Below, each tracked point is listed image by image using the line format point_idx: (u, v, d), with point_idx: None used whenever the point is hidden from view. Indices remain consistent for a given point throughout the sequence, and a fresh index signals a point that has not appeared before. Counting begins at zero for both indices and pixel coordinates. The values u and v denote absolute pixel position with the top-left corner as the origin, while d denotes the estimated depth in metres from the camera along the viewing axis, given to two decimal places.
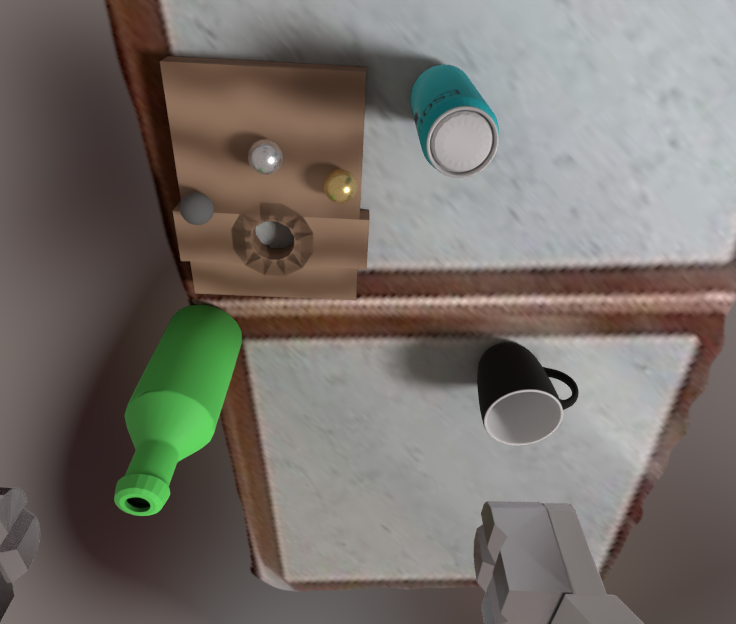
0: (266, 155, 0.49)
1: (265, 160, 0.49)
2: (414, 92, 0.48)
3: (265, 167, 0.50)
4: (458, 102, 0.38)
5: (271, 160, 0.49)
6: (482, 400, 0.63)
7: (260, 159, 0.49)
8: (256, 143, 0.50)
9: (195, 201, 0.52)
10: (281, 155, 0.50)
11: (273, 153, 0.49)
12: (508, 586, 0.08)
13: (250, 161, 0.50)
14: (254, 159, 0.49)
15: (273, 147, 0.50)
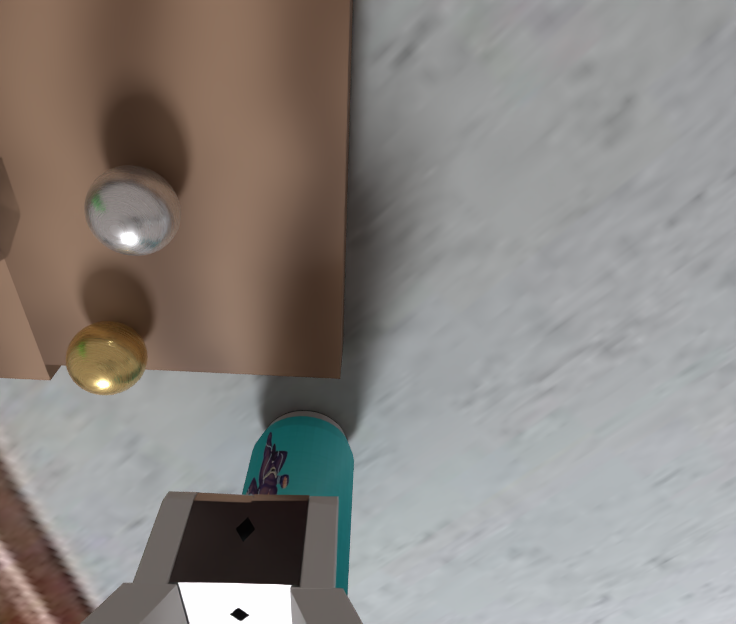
0: (140, 238, 0.19)
1: (125, 237, 0.19)
2: (314, 459, 0.28)
3: (106, 234, 0.19)
4: None
5: (129, 248, 0.19)
6: None
7: (125, 225, 0.18)
8: (165, 200, 0.19)
9: None
10: None
11: (149, 248, 0.19)
12: (235, 579, 0.08)
13: (112, 189, 0.18)
14: (121, 207, 0.18)
15: (164, 242, 0.20)
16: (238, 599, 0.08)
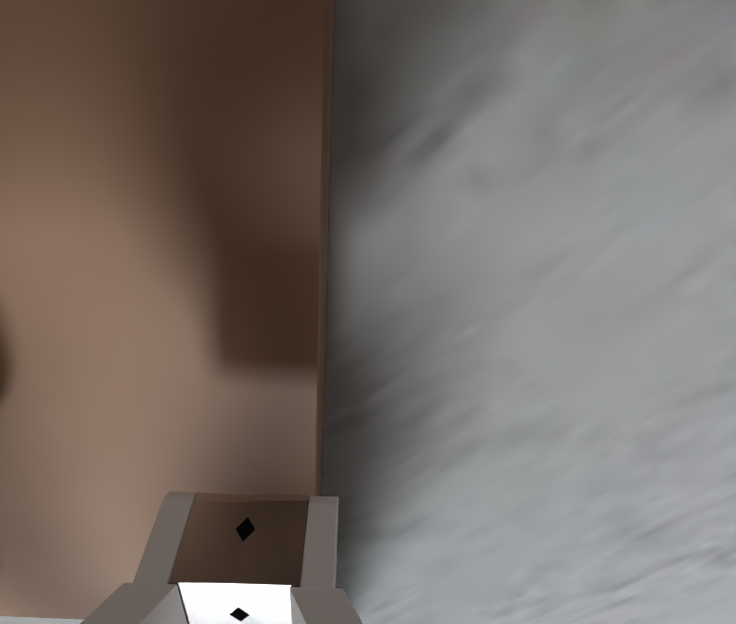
0: None
1: None
2: None
3: None
4: None
5: None
6: None
7: None
8: None
9: None
10: None
11: None
12: (235, 579, 0.08)
13: None
14: None
15: None
16: (238, 599, 0.08)
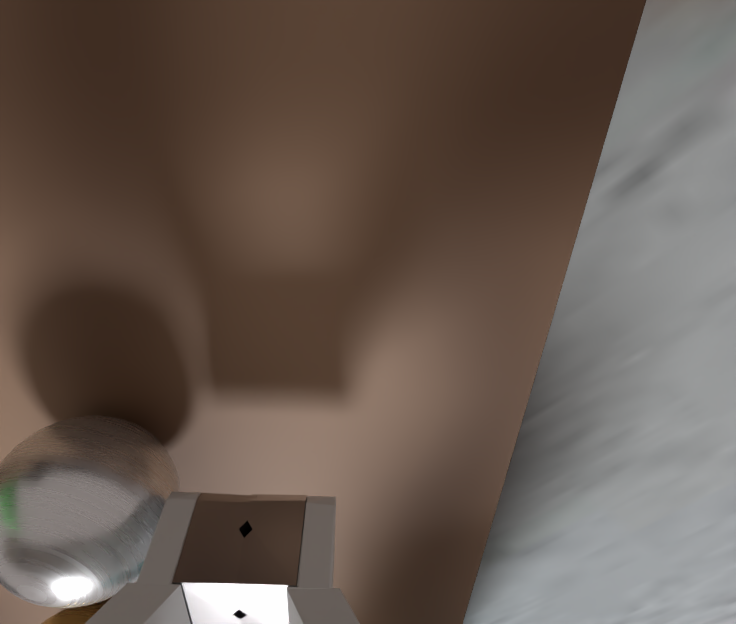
0: (85, 599, 0.09)
1: (53, 601, 0.09)
2: None
3: (14, 592, 0.09)
4: None
5: None
6: None
7: (49, 587, 0.08)
8: (144, 511, 0.09)
9: None
10: None
11: (109, 597, 0.09)
12: (232, 579, 0.08)
13: (24, 511, 0.08)
14: (42, 554, 0.08)
15: None
16: (241, 599, 0.08)
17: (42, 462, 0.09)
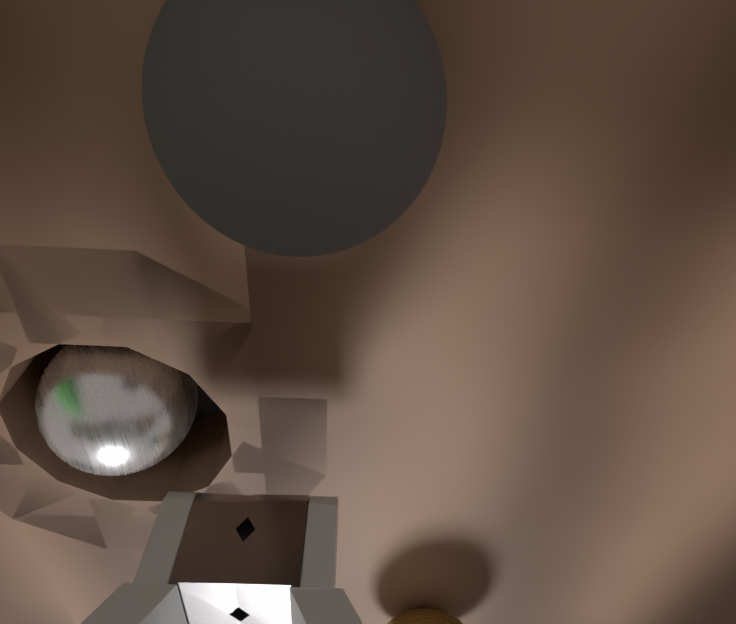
0: (61, 458, 0.11)
1: (48, 444, 0.11)
2: None
3: None
4: None
5: None
6: None
7: (42, 431, 0.11)
8: (114, 423, 0.10)
9: (412, 170, 0.05)
10: None
11: (89, 472, 0.11)
12: (236, 579, 0.08)
13: (54, 369, 0.11)
14: (43, 404, 0.11)
15: None
16: (238, 599, 0.08)
17: None
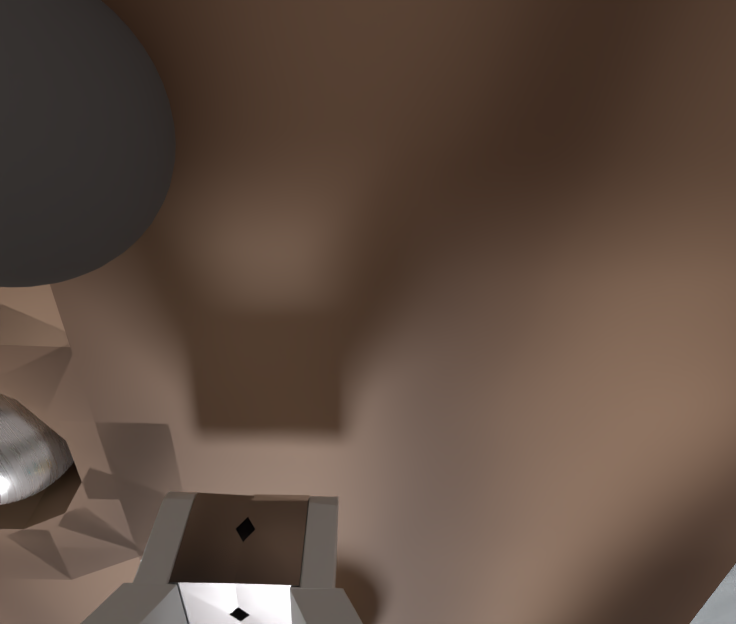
0: None
1: None
2: None
3: None
4: None
5: None
6: None
7: None
8: (17, 439, 0.10)
9: (95, 197, 0.05)
10: None
11: None
12: (235, 579, 0.08)
13: None
14: None
15: (24, 495, 0.11)
16: (238, 599, 0.08)
17: None
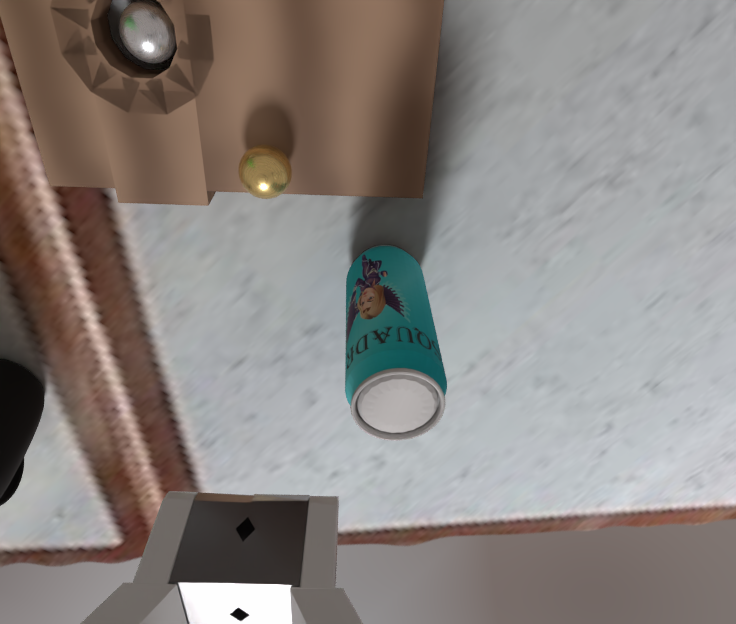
0: (143, 43, 0.30)
1: (135, 40, 0.30)
2: (401, 264, 0.37)
3: (125, 38, 0.30)
4: (443, 389, 0.30)
5: (138, 50, 0.30)
6: None
7: (134, 31, 0.30)
8: (163, 21, 0.30)
9: None
10: (156, 62, 0.32)
11: (151, 54, 0.31)
12: (235, 579, 0.08)
13: (131, 8, 0.30)
14: (134, 19, 0.29)
15: (162, 52, 0.31)
16: (238, 599, 0.08)
17: (138, 1, 0.30)
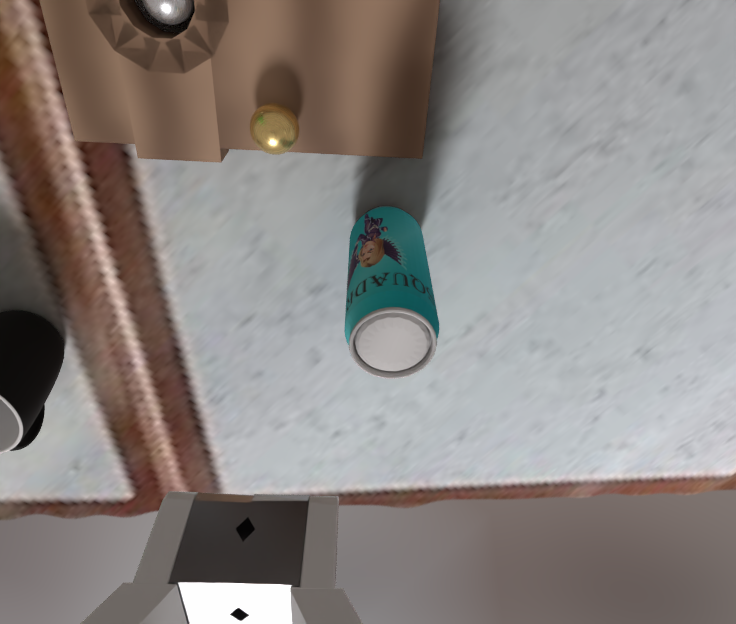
0: (160, 4, 0.32)
1: (153, 1, 0.32)
2: (401, 221, 0.40)
3: None
4: (436, 330, 0.33)
5: (156, 11, 0.33)
6: None
7: None
8: None
9: None
10: (173, 24, 0.34)
11: (167, 14, 0.33)
12: (235, 579, 0.08)
13: None
14: None
15: (177, 14, 0.33)
16: (238, 599, 0.08)
17: None
